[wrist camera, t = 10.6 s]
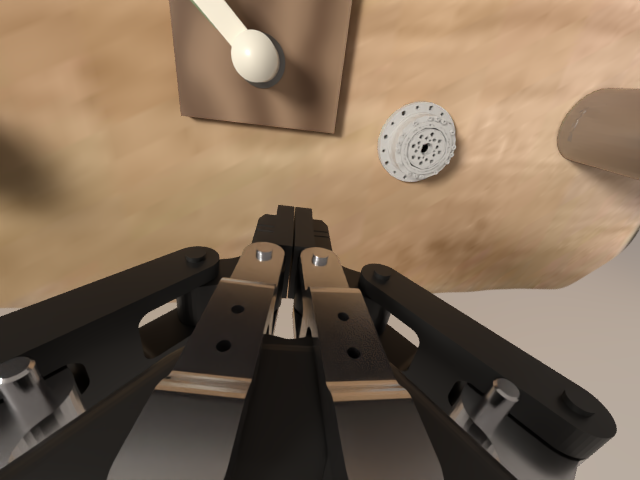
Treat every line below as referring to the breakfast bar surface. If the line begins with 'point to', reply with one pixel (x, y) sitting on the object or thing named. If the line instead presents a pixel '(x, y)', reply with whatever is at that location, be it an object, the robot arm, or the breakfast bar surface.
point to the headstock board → (294, 71)
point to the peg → (243, 42)
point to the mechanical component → (417, 141)
